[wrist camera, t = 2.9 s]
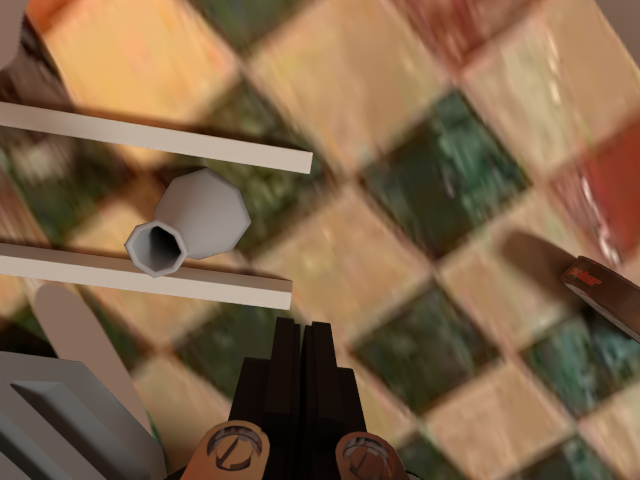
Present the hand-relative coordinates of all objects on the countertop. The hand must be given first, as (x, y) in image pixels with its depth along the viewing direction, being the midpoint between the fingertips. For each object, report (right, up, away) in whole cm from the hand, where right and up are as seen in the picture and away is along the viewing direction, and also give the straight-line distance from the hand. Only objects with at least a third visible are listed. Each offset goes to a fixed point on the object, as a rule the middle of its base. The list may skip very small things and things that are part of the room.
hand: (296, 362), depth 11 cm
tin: (+27, -2, +22) cm, 35 cm away
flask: (-9, +6, +18) cm, 21 cm away
